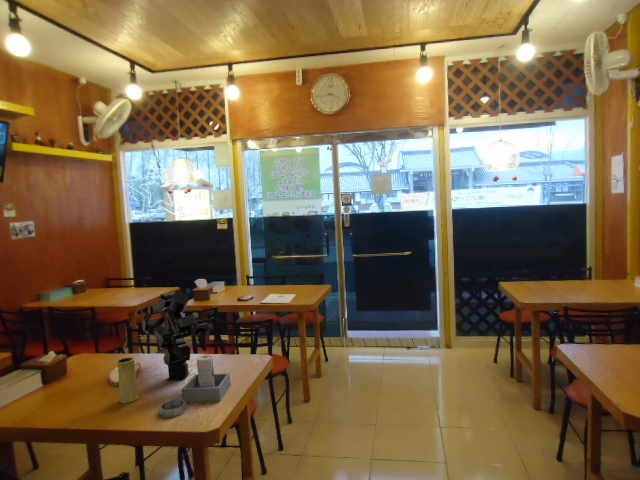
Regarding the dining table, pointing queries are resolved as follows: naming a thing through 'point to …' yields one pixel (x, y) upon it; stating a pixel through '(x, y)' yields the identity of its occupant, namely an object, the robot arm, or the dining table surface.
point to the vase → (127, 380)
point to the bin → (206, 389)
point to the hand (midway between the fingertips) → (194, 354)
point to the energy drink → (205, 371)
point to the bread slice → (115, 377)
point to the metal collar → (172, 412)
